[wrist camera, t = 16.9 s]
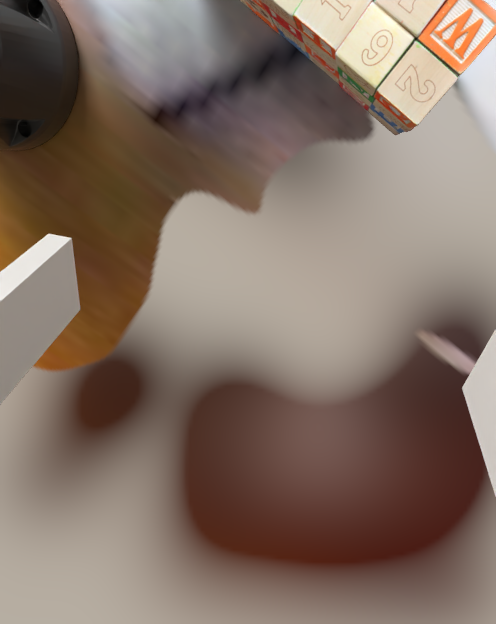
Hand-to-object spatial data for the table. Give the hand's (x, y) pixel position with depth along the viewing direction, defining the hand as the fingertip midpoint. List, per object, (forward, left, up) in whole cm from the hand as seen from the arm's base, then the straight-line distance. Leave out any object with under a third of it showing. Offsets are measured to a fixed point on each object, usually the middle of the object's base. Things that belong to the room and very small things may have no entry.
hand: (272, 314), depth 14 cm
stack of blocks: (-5, +14, -27) cm, 31 cm away
